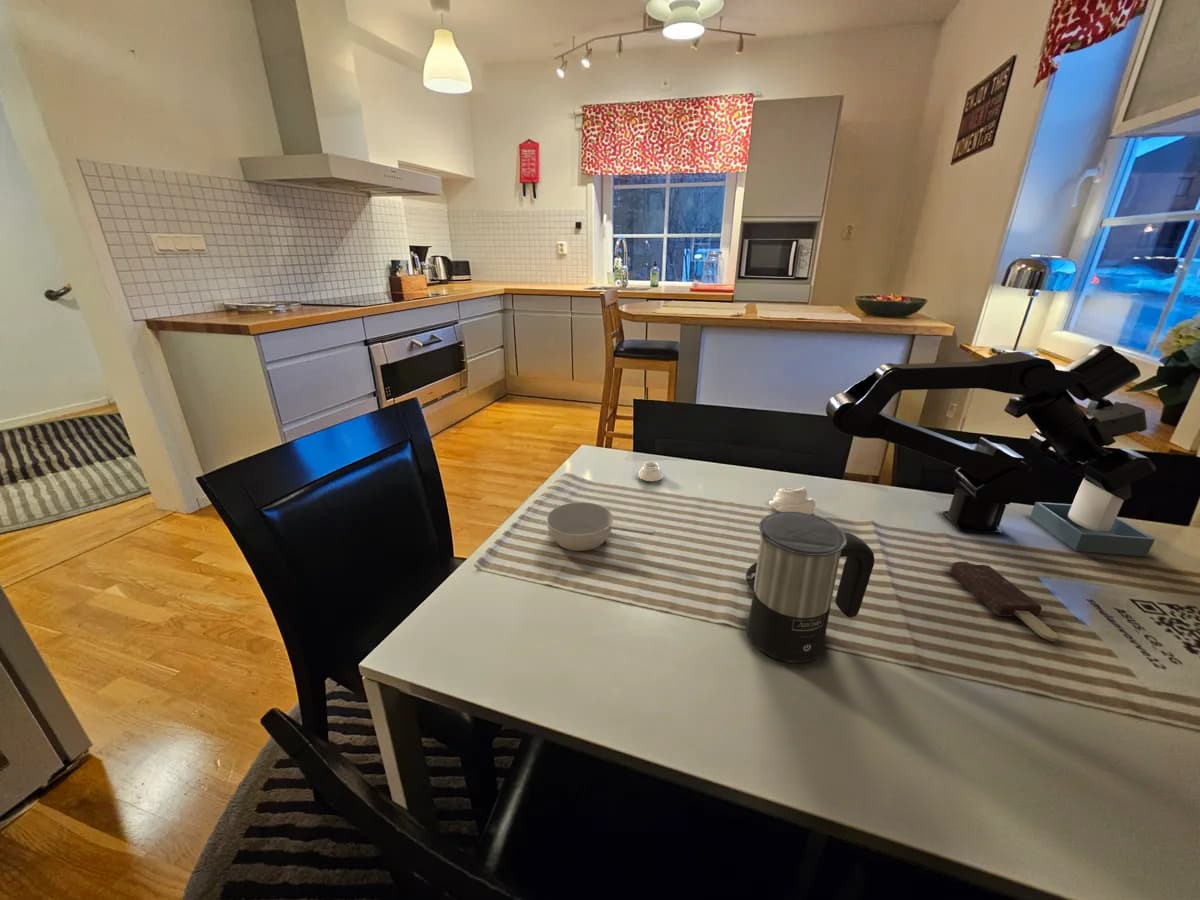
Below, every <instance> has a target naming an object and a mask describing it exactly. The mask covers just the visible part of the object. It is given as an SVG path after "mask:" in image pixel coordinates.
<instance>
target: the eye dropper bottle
mask: <svg viewBox="0 0 1200 900" xmlns="http://www.w3.org/2000/svg"><path fill="white" fill-rule="evenodd" d="M1085 478H1086V477H1085ZM1124 501H1125V500H1122V499H1120V498H1118V497H1116V496H1114V495H1112V494H1111V493H1109V492H1106V491H1105V490H1103V489H1101V488H1099V487H1097V486H1095V485H1093V484H1091V483H1090V482H1088V481H1086V480H1085V479H1084V478H1082V481H1081V483H1080V485H1079V487H1078V490H1077V492H1076V494H1075V496H1074V499H1073V502H1072V503H1071V504H1072V506H1071V508H1070V511H1069V513H1068V517H1069V519H1071V520H1072V521H1073V522H1075V523H1076V524H1078V525H1080V526H1082V527H1084V528H1087V529H1089V530H1092V531H1095V532H1109V531H1110V529H1111V527H1112V525H1113V523H1114V521H1115V519H1116V517H1118V514H1119V513H1120V510H1121V508H1122V506H1123V503H1124Z"/></svg>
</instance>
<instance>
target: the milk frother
mask: <svg viewBox="0 0 1200 900" xmlns="http://www.w3.org/2000/svg"><path fill="white" fill-rule="evenodd" d="M758 525H759V526H758V528H759V529H758V530H759V531H760V538H759V545H758V552H757V560H756V562H754V563H753V564H752V565H750V566H749V567H748V569H747V570H746V573H745V577H746V578H745V579H746V583H747V585H748V587H749V588H750V589H751V590H752V597H751V604H750V610H749V615H748V617H747V618H746V621H745V632H746V635H747V637H748V639H749V641H750V642H751V643H752V645H753V646H755V647H756V649H758V650H759V651H761V652H762V653H764V654H765V655H767V656H769V657H771V658H774V659H775V660H779V661H781V662H785V663H791V664H804V663H810V662H813V661H815V660H817V659H819V658H820V656H822V655H823V653H824V652H825V651H826V650H825V649H826V647H827V646H826V645H827V642H826V634H827V628H828V627H827V626H828V622H829V618H830V617H829V616H830V611H831V606H832V600H833V595H834V591H835V585H836V580H837V575H838V570H839V564H840V560H841V559H840V558H844V557H845V561H844V564H843V567H842V572H841V576H840V579H839V583H838V584H839V585H838V588H837V591H836V595H835V600H834V602H835V605H836V607H837V608H838V609H839V610H840V612H841V613H842V614H843V615H845V617H847V618H853V617H856V616H857V615H858V614H859V612H860V609H861V606H862V604H863V600H864V597H865V594H866V591H867V589H868V584H869V581H870V579H871V576H872V572H873V569H874V566H875V554H874V552H873V550H872V549H871V547H870V546H869V545H868V544H867V543H866V542H865V541H864V540H863V539H862V538H860V537H859V536H857V535H856V534H853V533H850V532H849V531H848V532H847V531H843V530H842V529H841V528H840V527H839V526H838V525H837V524H835V523H833V522H832V521H830V520H827V519H826V518H823V517H820V516H817V515H814V514H811V515H810V514H805V513H801V512H780V511H778V512H774V513H770V514H768V515H766V516H764V517H763V518H761V520H760V521H759V524H758Z"/></svg>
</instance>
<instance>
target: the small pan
mask: <svg viewBox="0 0 1200 900" xmlns="http://www.w3.org/2000/svg"><path fill="white" fill-rule="evenodd" d="M546 523H547V525H546V526H547V530H548V533H549V534H550V536H551V537H552V538H553V539H554V541H555V543H556V544H557V545H558V546H560V547H561V548H563V549H566V550H570V551H581V552H582V551H589V550H593V549H596V548H598V547H600V546H601V545H603V544H604V542H605V541H606V539H607V538H608V537H609V535H610V533H611V531H612V530H617V531H622V532H628V533H634V534H641V535H647V536H653V535H655V534H656V530H655V529H653V528H646V527H639V526H634V525H627V524H620V523H614V516H613V514H612V512H611V511H610V510H609V509H608V508H606V507H604V506H602V505H600V504H596V503H591V502H583V501H582V502H580V501H579V502H570V503H565V504H561V505H559V506H556V507H555V508H553V509H552V510H551V511H549V513H548V514H547V516H546Z"/></svg>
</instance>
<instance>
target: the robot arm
mask: <svg viewBox="0 0 1200 900" xmlns="http://www.w3.org/2000/svg"><path fill="white" fill-rule="evenodd" d="M1140 377H1141V370H1140V368H1139V367H1138V366H1137V364H1136V363H1135V362H1131V360H1129V358H1127V357H1125V356H1124V355H1123V354H1121V353H1119V352H1118V351H1116V350H1115V349H1114V347H1113V346H1112V345H1108V344H1103V343H1100V344H1098V345H1096V346H1095V347H1092V348H1091V349H1090V350H1089V351H1088V352H1087V353H1086V354H1084V355H1082V356H1081V357H1079V358H1077V359H1075V360H1074V361H1072V362H1070V363H1069V364H1067V365H1065V366H1063V365H1060V364H1057V363H1054V362H1052V361H1051V360H1050V359H1047V358H1044V357H1041V356H1038V355H1034V354H1031V353H1027V352H1025V351H1012V352H1006V353H1001V354H1000V353H999V354H995V355H990V356H988V357H986V358H983V359H980V360H979V359H978V360H973V361H951V362H926V363H925V362H924V363H921V362H920V363H897V364H896V363H892V362H887V363H883V364H881V365H880V366H878V367H876V369H875V370H874V371H872V372H871V373H870V374H868V375H867V376H865V377H863V378H862V379H859V380H858V381H857V382H854V383H853V384H852V385H851V386H849V388H847V389H846V390H845V391H844V392H843V391H842V392H840V393H837V394H835V395H834V396H832V397H831V398H830V399H829V400H828V401H827V403H826V407H825V413H826V416H827V418H828V419H829V421H830V422H831V424H832V425H833V427H834V428H835V429H836V430H837V432H839V433H841V434H842V435H846V436H850V437H855V438H856V437H857V438H861V439H879V440H883V441H884V442H885V441H886V442H887V443H888V442H889V443H891V444H893V445H897V446H899V447H902V448H904V449H907V450H910V451H913V452H916V453H918V454H920V455H922V456H923V455H924V456H926V457H929V458H931V459H934V460H936V461H940V462H943V463H945V464H947V465H950V466H953V467H956V469H954V470H953V476H954V481H955V482H956V483H958V484H959V485H960V486H956V487H955V489H954V493H953V496H952V499H951V503H950V505H949V509H948V510H943V511H942V513H941V514H942V516H943V517H945V519H946V520H948V521H949V522H950V523H951V524H952V525H953V526H954V527H955V529H957V530H958V531H960V532H965V533H966V532H967V533H976V534H977V533H979V534H993V535H1002V532H1003V531H1002V530H1001V529H1000V528H999V526H1000V525H1001V521H1002V519H1003V516H1004V514H1005V513H1004V512H1005V510H1006V507H1007V505H1010V504H1011V503H1012V502H1013V501H1014V500H1015V498H1016V497H1017V496H1018V495H1019V494H1020V492H1022V491H1023V490H1024V489H1025V488H1027V486H1029V484H1030V483H1031V481H1032V480H1033V475H1034V473H1033V468H1032V467H1031V466H1030V465H1029V464H1027V463H1026V462H1024V460H1025V459H1026V458H1025V457H1024V456H1022V455H1020V454H1019V453H1017V452H1015V450H1013V449H1011V448H1010V447H1008V446H1007V445H1005V444H1004V443H995V442H991V441H990V440H988V439H986V438H984V437H982V436H981V437H979V439H978V442H977V443H966V442H963V441H960V440H956V439H954V438H952V437H949V436H947V435H944V434H941V433H938V432H935V431H933V430H930V429H927V428H924V427H922V426H919V425H916V424H914V423H911V422H908V421H905V420H903V419H900V418H896V417H895V416H891V415H889V414H887V413H885V412H883V410H884V408H885V407H886V406H887V405H888V403H890V401H891V400H892V398H893V397H894V396H896V395H897V394H898V393H899V392H901V391H921V390H922V391H923V390H924V391H925V390H927V391H928V390H963V389H965V390H966V389H967V390H969V389H982V390H989V391H994V392H998V393H1003V394H1011V395H1018V396H1017V397H1015V396H1010V397H1009V398H1008V403H1007V404H1006V405H1005V407H1004V411H1003V412H1005V413H1007V414H1008V415H1010V416H1011V417H1014V418H1016V419H1019V418H1021V417H1023V416H1025V415H1027V417H1028V418H1029V419H1030V421H1031V422H1032V423H1033V424H1034V427H1036V429H1034V432H1033V433H1032V434H1031V435H1030V436H1029V439H1028V443H1029V445H1030V446H1031V447H1032V449H1033V450H1034V451H1036V452H1038V453H1040V454H1041V455H1045V457H1046V458H1047V459H1048V460H1051V461H1052V462H1054V463H1056V464H1058V465H1059V466H1061V467H1063V468H1065V469H1066V470H1069V471H1071V472H1072V473H1074V474H1076V475H1078V476H1080V477H1082V479H1085V480H1086V481H1088V482H1090V483H1091V484H1093V485H1095V486H1097V487H1099V488H1101V489H1103V490H1105V491H1106V492H1109V493H1111V494H1112V495H1114V496H1116V497H1118V498H1120V499H1122V500H1124V501H1126V500H1128V499H1130V498H1132V490H1131V484H1132V483H1134V482H1136V481H1139V480H1141V479H1142V478H1144V477H1147V476H1148V475H1150V474H1152V473H1154V472H1156V469H1157V467H1156V466H1155V464H1154V462H1152V460H1151V459H1150V457H1148V456H1145V455H1143V454H1142V453H1139V452H1137V451H1134V450H1132V449H1129V448H1119V449H1117V450H1115V451H1111V450H1108V449H1107V448H1104V447H1105V446H1106V447H1110V446H1111V445H1113V444H1115V443H1117V441H1116V439H1115V438H1116V437H1117V438H1118V437H1121V436H1124V435H1129V434H1132V433H1137V432H1138V433H1141V432H1145V431H1146V430H1147V429H1148V424H1147V417H1146V409H1145V408H1142V407H1139V406H1137V405H1133V404H1130V403H1127V402H1119V401H1115V402H1112V401H1111V400H1109V399H1108V398H1105V397H1107V396H1109V395H1111V394H1112V393H1114V392H1117V391H1118V390H1120V389H1121V388H1124V387H1125V386H1126V385H1128V384H1130V383H1132V382H1134V381H1136V380H1137V379H1139V378H1140ZM1073 397H1074V398H1076V399H1077V400H1079V401H1082V402H1084V401H1086V400H1087V399H1088V400H1090V401H1089V402H1088V405H1087V407H1086V409H1085V411H1086V412H1084V411H1083V410H1082V408H1081V407H1080V406H1079V404H1078V403H1077V401H1076V400H1075V399H1074V398H1073ZM1085 477H1086V478H1085Z"/></svg>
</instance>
